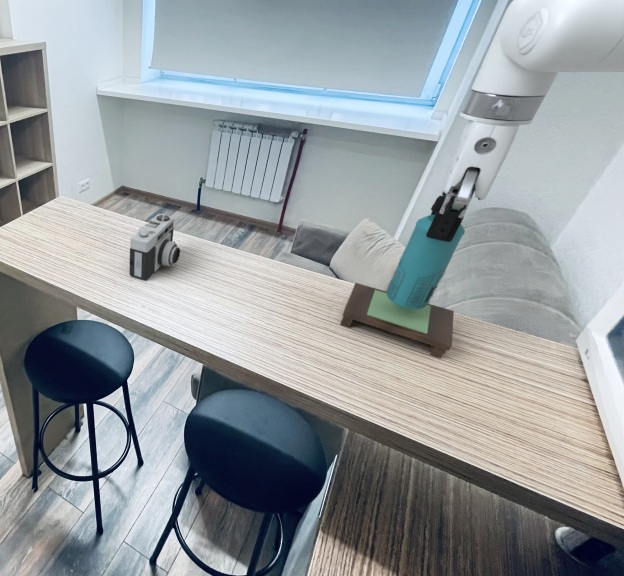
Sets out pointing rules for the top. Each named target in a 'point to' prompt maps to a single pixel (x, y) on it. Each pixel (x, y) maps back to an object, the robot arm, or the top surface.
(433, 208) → the beverage bottle
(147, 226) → the camera
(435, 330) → the shelf
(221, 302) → the top surface
